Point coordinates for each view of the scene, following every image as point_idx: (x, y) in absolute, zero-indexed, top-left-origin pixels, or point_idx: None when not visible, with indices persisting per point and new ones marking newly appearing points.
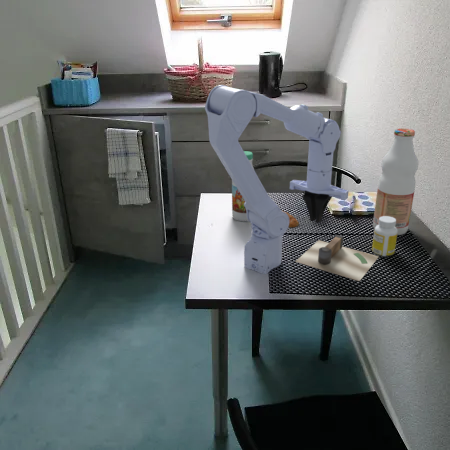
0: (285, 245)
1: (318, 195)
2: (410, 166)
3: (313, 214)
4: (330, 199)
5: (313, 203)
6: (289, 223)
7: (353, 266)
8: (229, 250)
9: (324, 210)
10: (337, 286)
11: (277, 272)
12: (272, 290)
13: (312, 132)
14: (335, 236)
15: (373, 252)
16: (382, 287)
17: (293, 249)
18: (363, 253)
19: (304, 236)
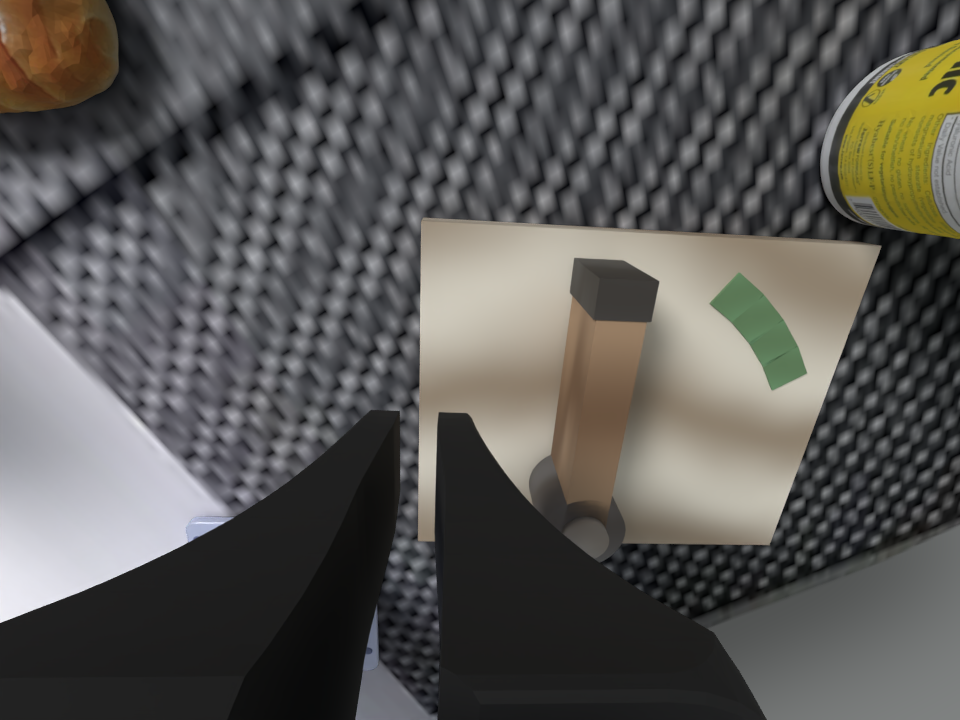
0: (242, 361)
1: (293, 659)
2: None
3: (386, 537)
4: (643, 594)
5: (344, 714)
6: (26, 75)
7: (727, 441)
8: (26, 564)
9: (503, 474)
10: (665, 577)
11: (380, 608)
12: (434, 702)
13: None
14: (596, 316)
15: (845, 206)
16: (862, 497)
17: (318, 383)
18: (775, 260)
19: (270, 151)
